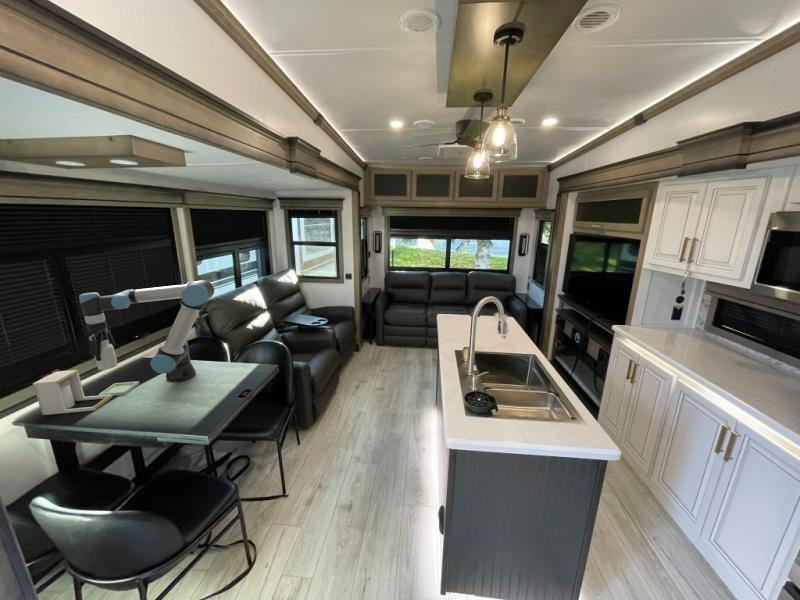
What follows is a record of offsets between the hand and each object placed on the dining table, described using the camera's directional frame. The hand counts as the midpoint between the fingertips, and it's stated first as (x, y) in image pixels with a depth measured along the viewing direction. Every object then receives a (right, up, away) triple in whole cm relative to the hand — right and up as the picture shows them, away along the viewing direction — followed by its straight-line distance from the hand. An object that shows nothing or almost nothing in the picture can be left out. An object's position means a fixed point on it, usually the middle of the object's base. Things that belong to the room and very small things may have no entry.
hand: (107, 362), depth 170 cm
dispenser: (-8, -21, -7) cm, 23 cm away
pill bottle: (0, -3, +1) cm, 3 cm away
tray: (0, -17, +8) cm, 19 cm away
